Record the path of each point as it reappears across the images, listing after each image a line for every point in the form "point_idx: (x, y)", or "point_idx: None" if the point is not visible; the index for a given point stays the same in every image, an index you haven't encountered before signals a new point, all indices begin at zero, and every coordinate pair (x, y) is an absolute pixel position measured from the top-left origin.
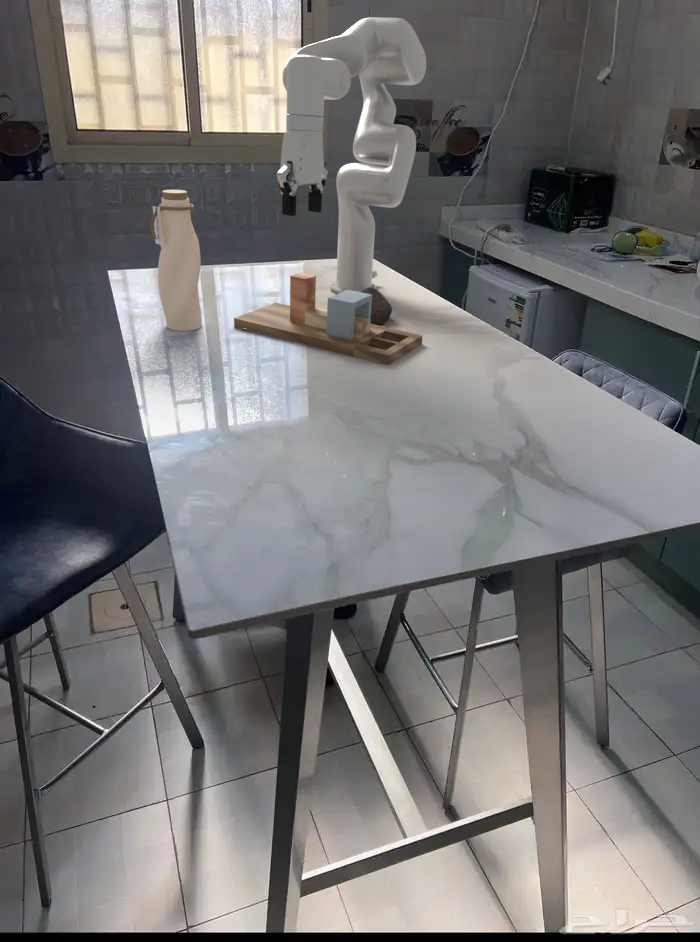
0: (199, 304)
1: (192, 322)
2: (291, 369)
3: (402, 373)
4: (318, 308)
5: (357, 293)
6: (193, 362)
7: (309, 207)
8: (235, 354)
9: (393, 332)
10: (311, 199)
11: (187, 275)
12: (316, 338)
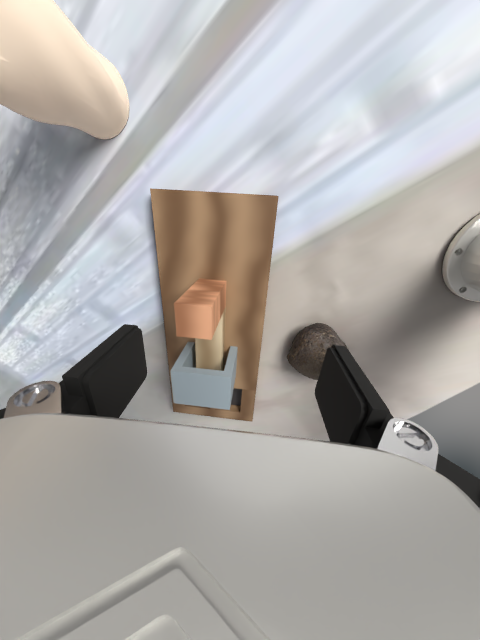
0: (89, 115)
1: (84, 131)
2: (100, 340)
3: (168, 417)
4: (220, 320)
5: (221, 393)
6: (23, 239)
7: (331, 359)
8: (81, 266)
9: (242, 397)
10: (342, 395)
11: None
12: (166, 338)
